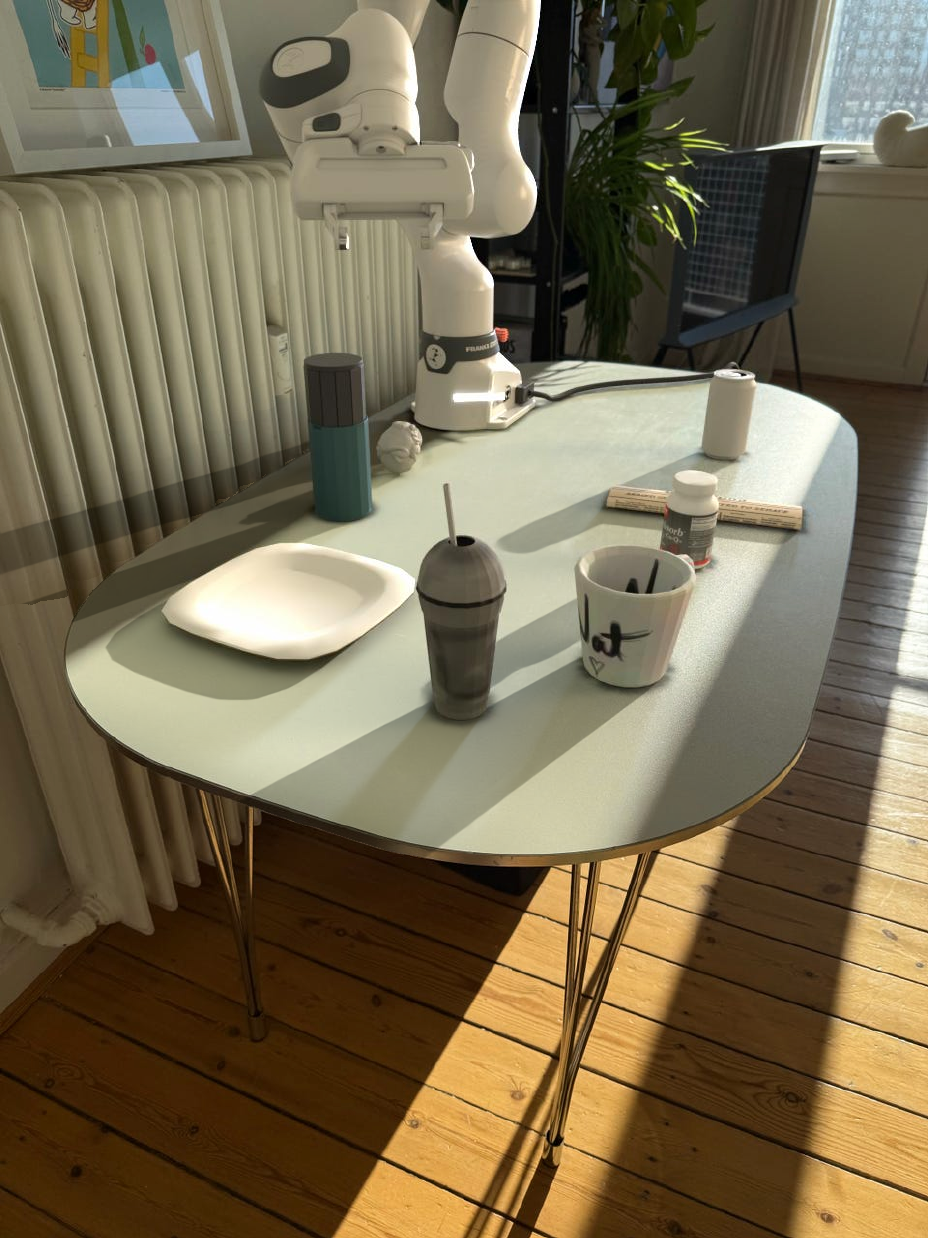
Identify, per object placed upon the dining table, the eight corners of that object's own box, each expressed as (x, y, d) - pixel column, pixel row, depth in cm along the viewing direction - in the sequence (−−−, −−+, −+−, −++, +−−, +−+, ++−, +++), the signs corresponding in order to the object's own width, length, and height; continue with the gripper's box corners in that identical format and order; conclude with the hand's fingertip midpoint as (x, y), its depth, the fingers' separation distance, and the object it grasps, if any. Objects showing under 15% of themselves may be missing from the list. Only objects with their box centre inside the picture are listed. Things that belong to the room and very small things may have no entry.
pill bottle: (649, 553, 104) (658, 471, 99) (691, 546, 105) (703, 465, 100) (676, 574, 99) (687, 489, 94) (720, 566, 101) (733, 483, 96)
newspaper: (606, 509, 115) (607, 496, 114) (614, 490, 121) (615, 477, 120) (799, 533, 109) (802, 519, 108) (798, 511, 115) (801, 498, 114)
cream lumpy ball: (432, 469, 127) (431, 421, 124) (400, 483, 122) (398, 433, 119) (399, 460, 130) (398, 413, 127) (367, 474, 126) (364, 425, 122)
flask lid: (335, 406, 112) (331, 349, 109) (376, 416, 109) (374, 358, 105) (296, 419, 108) (291, 360, 104) (338, 430, 104) (334, 369, 101)
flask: (341, 495, 119) (333, 373, 111) (383, 507, 115) (378, 383, 107) (303, 512, 114) (291, 386, 106) (345, 526, 110) (337, 396, 102)
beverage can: (753, 458, 132) (767, 376, 126) (717, 463, 130) (729, 380, 124) (727, 445, 137) (739, 365, 131) (691, 450, 135) (702, 369, 129)
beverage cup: (495, 735, 74) (501, 507, 64) (409, 724, 75) (402, 499, 65) (509, 686, 80) (516, 472, 70) (429, 677, 81) (425, 465, 71)
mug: (544, 665, 83) (549, 567, 78) (640, 610, 92) (650, 520, 87) (637, 712, 76) (649, 610, 71) (730, 648, 85) (747, 553, 80)
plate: (313, 687, 79) (312, 671, 78) (136, 627, 88) (133, 611, 88) (438, 588, 96) (438, 574, 95) (278, 545, 105) (277, 532, 104)
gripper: (470, 162, 106) (477, 263, 102) (295, 163, 105) (295, 265, 101) (474, 120, 100) (481, 225, 96) (288, 119, 98) (288, 227, 95)
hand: (384, 246), depth 99 cm, fingers open, 8 cm apart
